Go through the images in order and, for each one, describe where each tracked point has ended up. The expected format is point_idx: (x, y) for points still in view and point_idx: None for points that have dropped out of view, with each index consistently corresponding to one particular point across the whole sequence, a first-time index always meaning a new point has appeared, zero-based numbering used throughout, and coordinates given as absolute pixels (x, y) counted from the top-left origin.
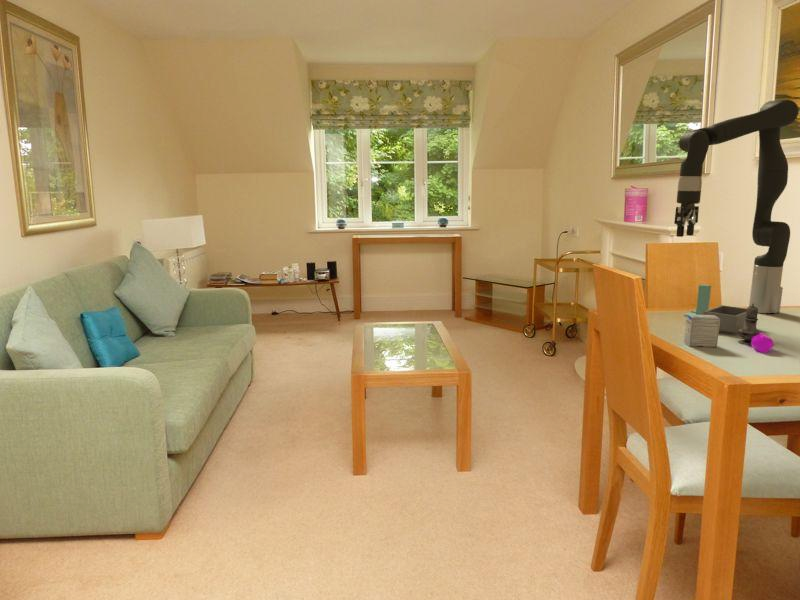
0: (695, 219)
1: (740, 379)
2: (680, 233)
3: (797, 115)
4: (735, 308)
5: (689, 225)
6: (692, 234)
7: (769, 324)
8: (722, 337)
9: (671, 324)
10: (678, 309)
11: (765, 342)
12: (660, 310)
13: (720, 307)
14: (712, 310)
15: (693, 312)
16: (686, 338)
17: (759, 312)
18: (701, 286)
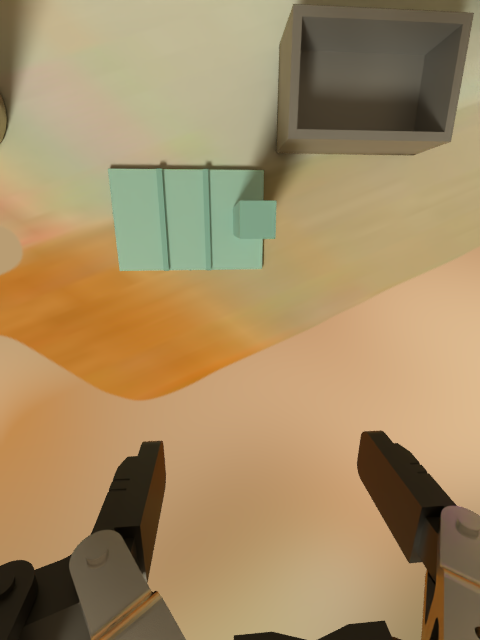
0: (20, 634)
1: None
2: (410, 457)
3: None
4: (297, 83)
5: (145, 559)
6: (161, 443)
7: (177, 13)
8: (476, 71)
9: (399, 242)
10: (178, 316)
11: None
12: (235, 341)
13: (325, 130)
14: (397, 132)
15: (210, 260)
16: None
17: (4, 105)
18: (275, 227)
